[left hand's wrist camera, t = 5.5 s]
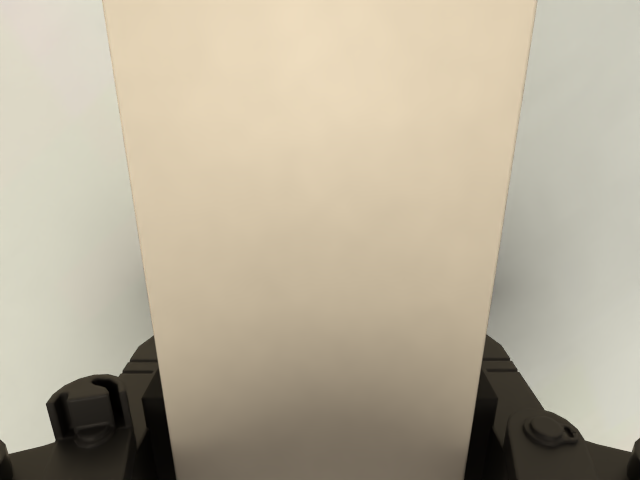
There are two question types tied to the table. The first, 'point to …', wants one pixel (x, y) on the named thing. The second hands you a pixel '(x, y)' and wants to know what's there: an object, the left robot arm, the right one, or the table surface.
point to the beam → (319, 223)
